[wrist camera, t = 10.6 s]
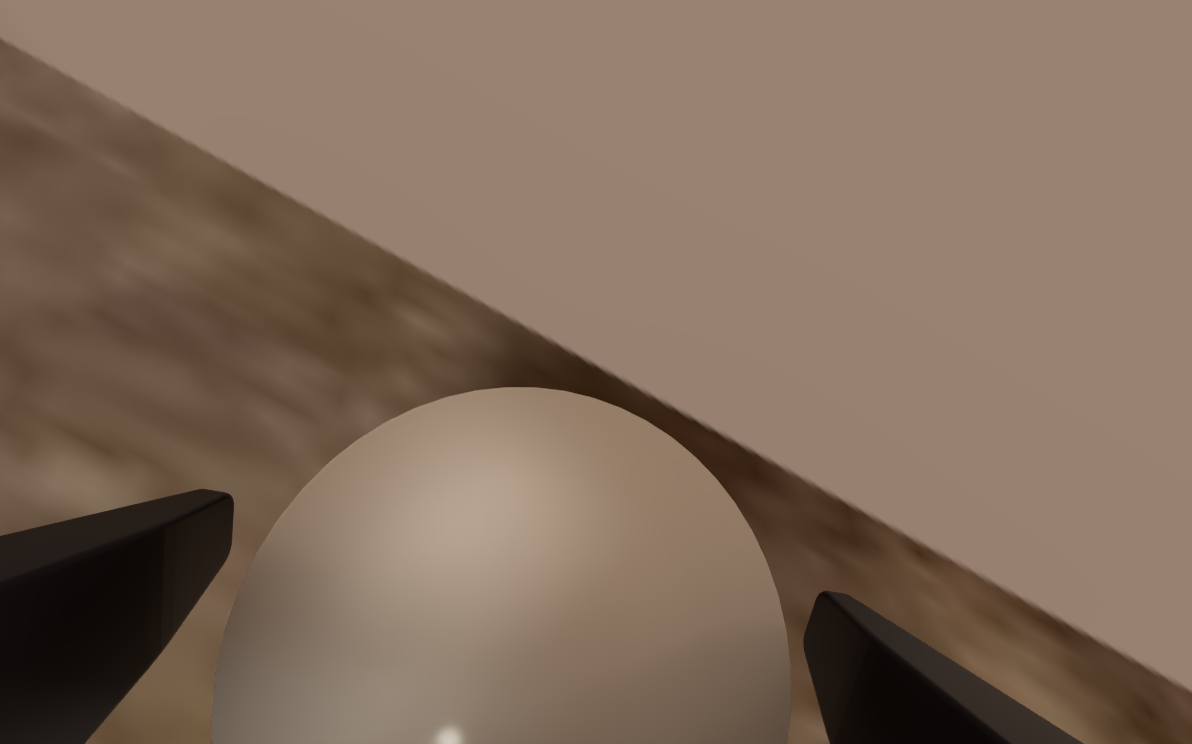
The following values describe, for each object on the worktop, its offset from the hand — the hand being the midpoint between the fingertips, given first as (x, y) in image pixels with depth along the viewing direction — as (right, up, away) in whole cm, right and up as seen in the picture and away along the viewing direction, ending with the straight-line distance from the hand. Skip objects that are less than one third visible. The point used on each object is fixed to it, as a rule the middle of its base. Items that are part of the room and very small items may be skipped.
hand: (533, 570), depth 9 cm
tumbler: (-2, -5, +7) cm, 9 cm away
